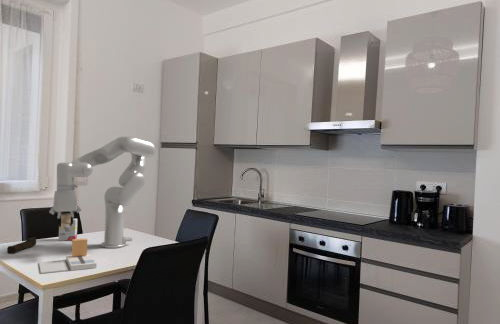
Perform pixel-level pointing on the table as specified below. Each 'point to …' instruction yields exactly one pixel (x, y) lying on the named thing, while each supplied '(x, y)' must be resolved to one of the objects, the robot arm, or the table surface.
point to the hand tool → (22, 245)
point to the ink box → (68, 235)
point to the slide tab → (79, 247)
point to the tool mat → (53, 266)
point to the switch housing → (81, 262)
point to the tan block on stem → (66, 222)
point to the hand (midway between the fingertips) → (65, 225)
